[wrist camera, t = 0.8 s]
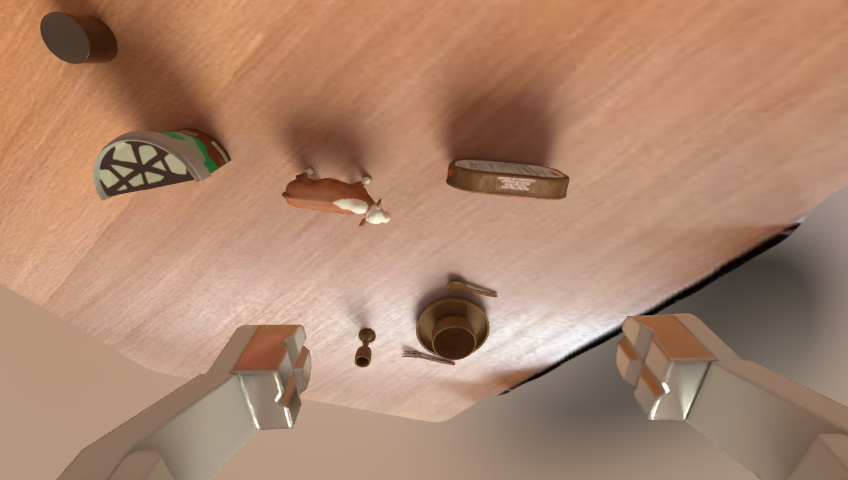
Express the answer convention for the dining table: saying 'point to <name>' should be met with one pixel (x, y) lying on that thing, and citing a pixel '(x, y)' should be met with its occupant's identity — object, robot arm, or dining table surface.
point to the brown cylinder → (78, 38)
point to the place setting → (442, 329)
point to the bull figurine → (334, 197)
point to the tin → (507, 179)
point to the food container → (156, 160)
